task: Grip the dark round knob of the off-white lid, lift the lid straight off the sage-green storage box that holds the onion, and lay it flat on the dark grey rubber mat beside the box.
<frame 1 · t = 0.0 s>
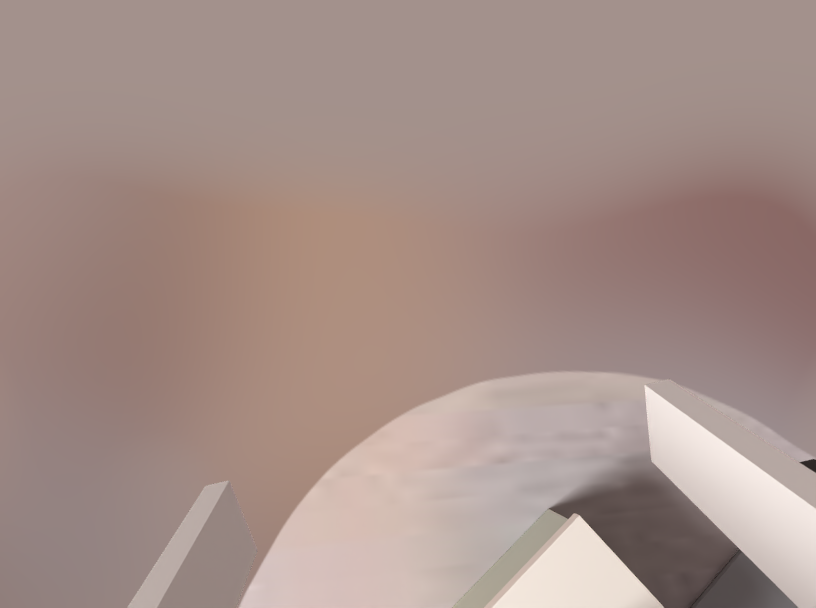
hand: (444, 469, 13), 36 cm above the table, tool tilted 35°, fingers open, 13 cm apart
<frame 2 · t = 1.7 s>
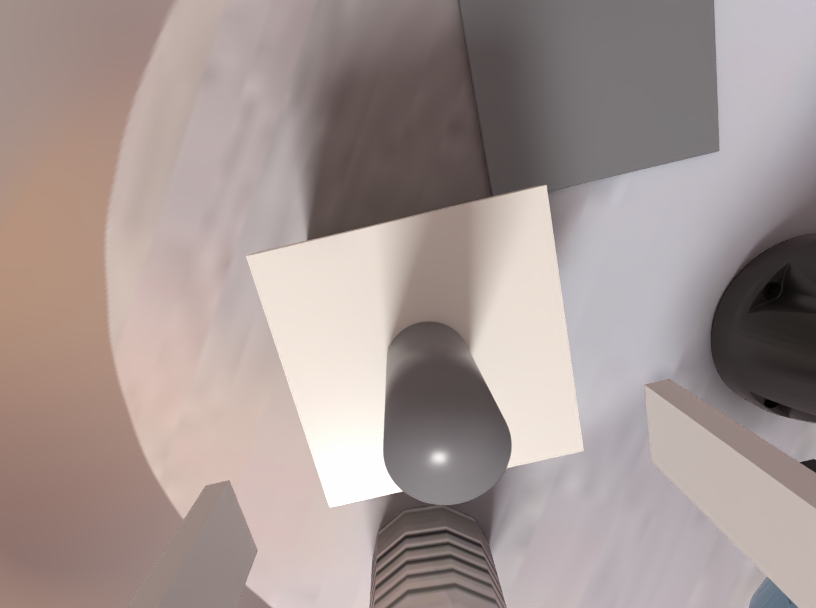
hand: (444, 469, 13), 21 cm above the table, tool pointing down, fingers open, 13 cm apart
lid: (424, 346, 24), point 9 cm above the table, touching box
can: (430, 551, 39), on the table
mat: (590, 55, 29), on the table
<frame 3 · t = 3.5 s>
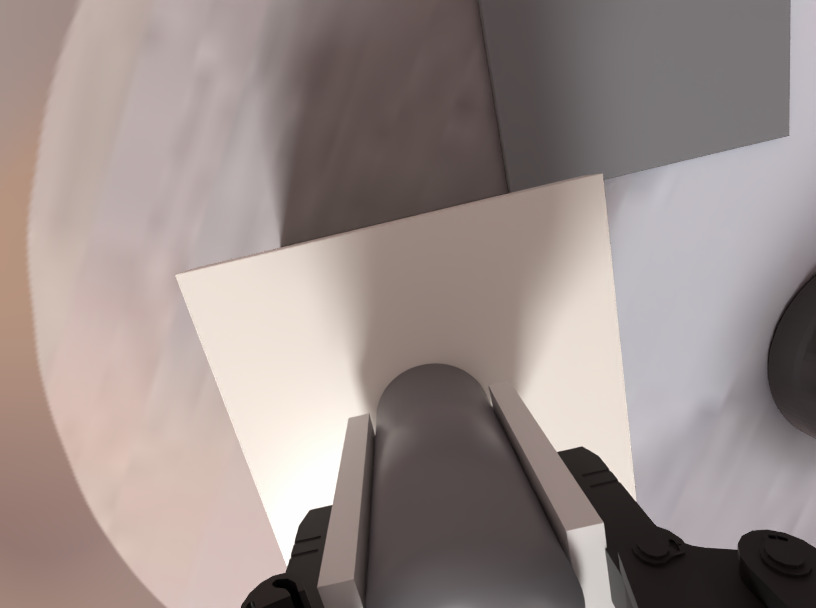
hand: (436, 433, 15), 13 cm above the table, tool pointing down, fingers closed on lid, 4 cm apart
lid: (427, 389, 18), point 9 cm above the table, touching box, gripper
mat: (633, 14, 23), on the table
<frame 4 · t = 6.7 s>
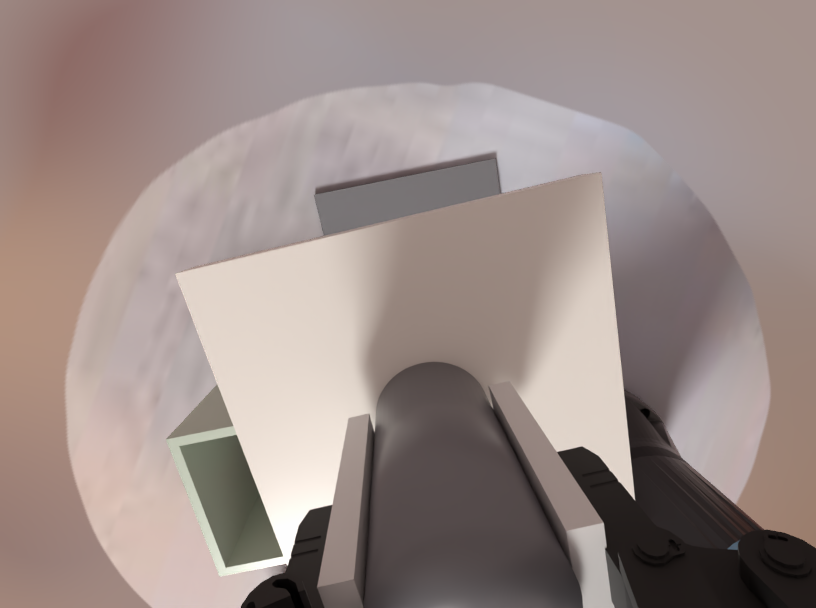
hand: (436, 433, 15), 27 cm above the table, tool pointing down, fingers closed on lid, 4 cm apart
lid: (427, 388, 18), point 23 cm above the table, touching gripper
mat: (421, 265, 40), on the table
box: (300, 430, 44), on the table
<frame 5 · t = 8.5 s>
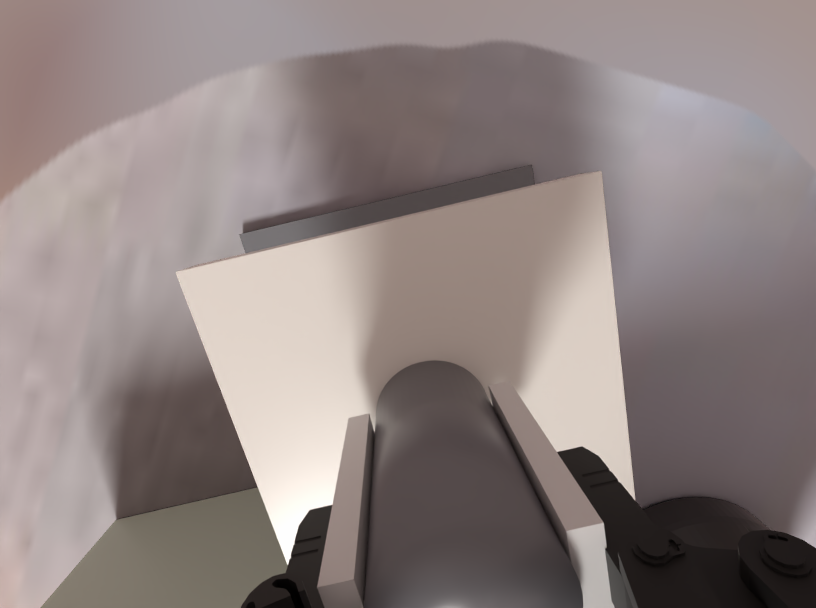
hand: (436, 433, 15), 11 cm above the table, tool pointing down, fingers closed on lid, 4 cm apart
lid: (427, 386, 18), point 8 cm above the table, touching gripper
mat: (417, 335, 26), on the table
box: (247, 576, 30), on the table
when the fingers open (6 cm above the table, at t = 10.0 s): lid drops 2 cm, resting on mat.
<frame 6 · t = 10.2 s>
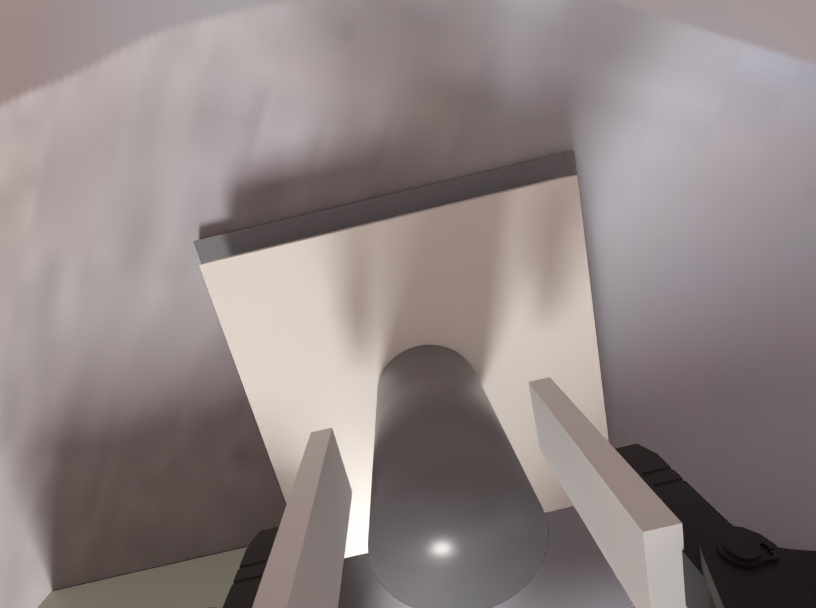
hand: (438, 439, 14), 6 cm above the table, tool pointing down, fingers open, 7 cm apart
lid: (423, 371, 20), resting on mat
mat: (423, 367, 20), on the table
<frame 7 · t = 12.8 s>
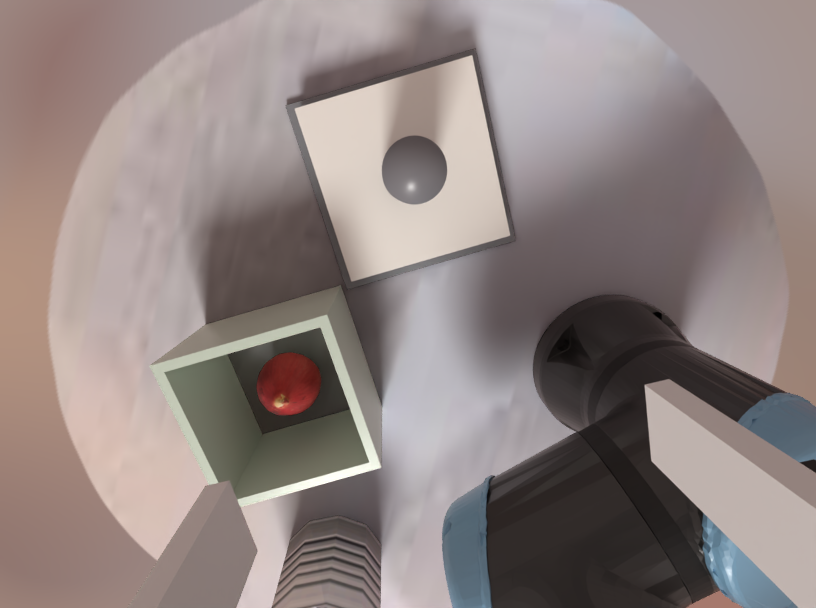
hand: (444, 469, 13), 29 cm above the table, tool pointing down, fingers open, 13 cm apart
lid: (406, 176, 37), resting on mat
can: (335, 552, 49), on the table
mat: (406, 177, 38), on the table
box: (297, 367, 42), on the table
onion: (297, 366, 42), resting in box
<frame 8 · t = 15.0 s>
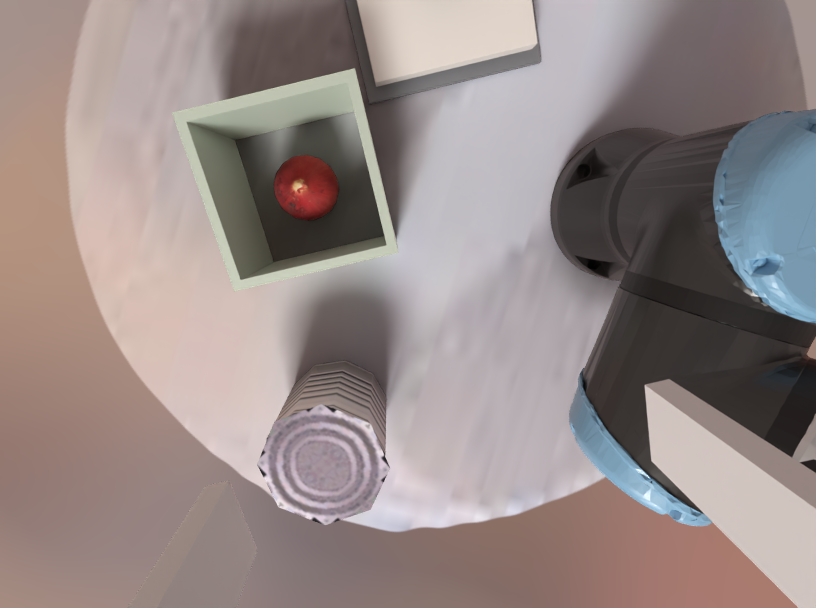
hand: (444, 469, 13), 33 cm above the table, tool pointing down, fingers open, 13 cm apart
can: (338, 403, 48), on the table
box: (313, 189, 42), on the table
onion: (314, 189, 42), resting in box
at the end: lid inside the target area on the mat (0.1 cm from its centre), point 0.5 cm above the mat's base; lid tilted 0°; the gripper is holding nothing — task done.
